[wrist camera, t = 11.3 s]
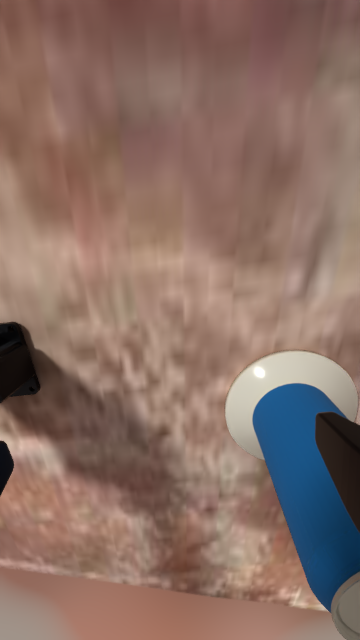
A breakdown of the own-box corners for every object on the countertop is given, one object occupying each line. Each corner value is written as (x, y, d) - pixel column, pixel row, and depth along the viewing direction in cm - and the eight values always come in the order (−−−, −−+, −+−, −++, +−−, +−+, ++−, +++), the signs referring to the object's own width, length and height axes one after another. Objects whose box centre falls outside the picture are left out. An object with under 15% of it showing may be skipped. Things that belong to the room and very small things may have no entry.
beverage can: (279, 454, 22) (375, 676, 11) (234, 408, 21) (289, 603, 10) (342, 415, 21) (531, 623, 9) (298, 362, 20) (452, 528, 8)
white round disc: (229, 462, 23) (230, 467, 23) (219, 357, 20) (220, 360, 20) (349, 452, 23) (353, 458, 22) (357, 342, 20) (362, 345, 19)
